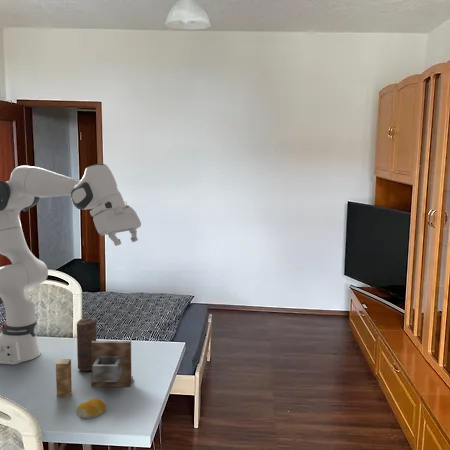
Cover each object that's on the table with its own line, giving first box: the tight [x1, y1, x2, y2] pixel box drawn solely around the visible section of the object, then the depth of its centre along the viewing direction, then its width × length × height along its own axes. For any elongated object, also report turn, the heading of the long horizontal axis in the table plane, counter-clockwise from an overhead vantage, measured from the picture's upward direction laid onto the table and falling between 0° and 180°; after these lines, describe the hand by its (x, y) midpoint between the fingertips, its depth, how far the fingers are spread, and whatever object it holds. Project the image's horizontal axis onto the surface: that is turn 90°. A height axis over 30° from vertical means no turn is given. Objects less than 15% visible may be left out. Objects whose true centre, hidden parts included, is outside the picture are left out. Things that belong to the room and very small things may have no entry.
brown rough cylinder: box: [76, 317, 97, 372], centre depth 188 cm, size 8×7×20 cm
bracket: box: [91, 340, 134, 388], centre depth 173 cm, size 14×15×16 cm
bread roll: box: [76, 397, 107, 419], centre depth 158 cm, size 8×9×4 cm
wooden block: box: [55, 358, 73, 398], centre depth 169 cm, size 4×4×12 cm
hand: (127, 243), depth 168 cm, fingers open, 8 cm apart
